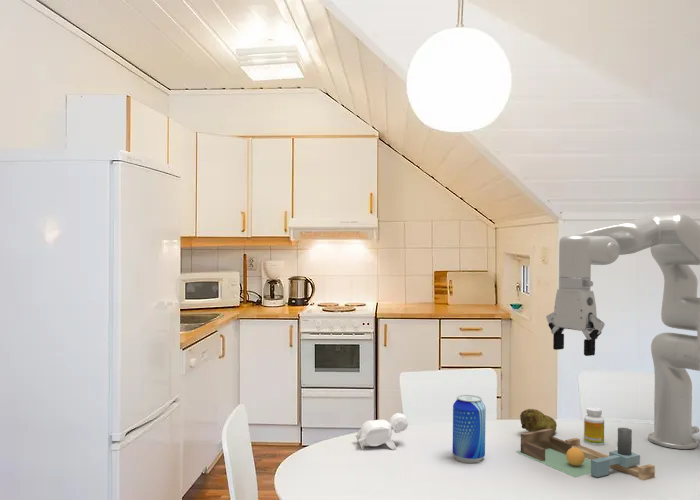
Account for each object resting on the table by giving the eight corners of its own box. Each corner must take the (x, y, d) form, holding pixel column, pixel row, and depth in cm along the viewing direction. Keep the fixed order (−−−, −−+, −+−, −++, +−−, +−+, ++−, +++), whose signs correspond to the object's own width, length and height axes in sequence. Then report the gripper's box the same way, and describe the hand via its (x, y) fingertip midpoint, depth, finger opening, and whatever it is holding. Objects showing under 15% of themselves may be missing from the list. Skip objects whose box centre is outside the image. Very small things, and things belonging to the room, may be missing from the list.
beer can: (490, 458, 153) (491, 397, 153) (474, 466, 147) (474, 403, 147) (463, 450, 159) (464, 392, 159) (446, 458, 153) (446, 397, 153)
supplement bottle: (606, 446, 164) (606, 412, 164) (585, 445, 165) (586, 410, 165) (601, 440, 169) (602, 407, 169) (582, 439, 170) (582, 406, 170)
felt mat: (549, 445, 164) (549, 444, 164) (610, 469, 147) (610, 468, 147) (515, 452, 158) (515, 451, 158) (574, 477, 141) (574, 477, 141)
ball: (574, 461, 151) (574, 444, 151) (588, 466, 148) (588, 449, 148) (562, 463, 149) (562, 446, 149) (576, 469, 145) (576, 452, 145)
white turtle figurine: (367, 462, 158) (417, 439, 160) (356, 434, 157) (406, 411, 160) (361, 451, 166) (408, 430, 169) (350, 424, 166) (398, 403, 168)
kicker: (622, 463, 149) (622, 425, 150) (639, 470, 145) (640, 430, 145) (585, 472, 143) (585, 432, 143) (602, 479, 139) (603, 438, 139)
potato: (566, 438, 171) (567, 411, 171) (527, 441, 168) (527, 413, 168) (551, 429, 179) (551, 403, 179) (513, 432, 176) (513, 405, 176)
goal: (549, 446, 163) (549, 428, 163) (571, 454, 156) (571, 436, 156) (520, 452, 158) (520, 433, 158) (541, 461, 151) (542, 441, 151)
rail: (576, 448, 162) (576, 437, 162) (654, 477, 141) (654, 465, 141) (565, 450, 160) (565, 440, 160) (643, 481, 139) (643, 468, 139)
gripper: (614, 286, 141) (613, 356, 141) (558, 282, 156) (557, 346, 156) (592, 286, 138) (591, 359, 137) (537, 283, 153) (537, 348, 153)
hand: (573, 352), depth 147 cm, fingers open, 9 cm apart
